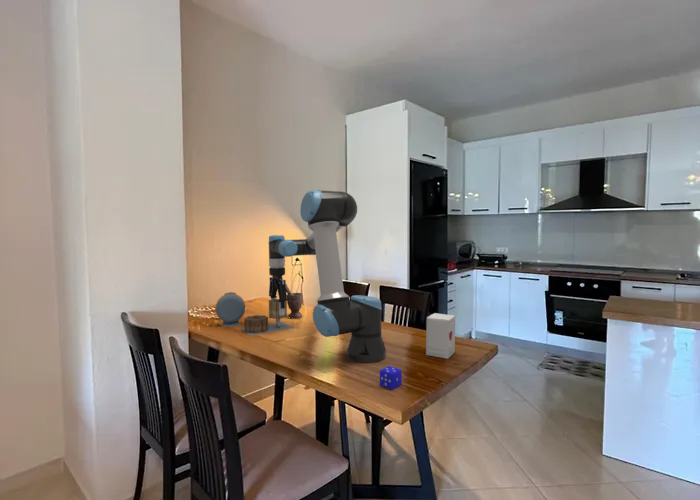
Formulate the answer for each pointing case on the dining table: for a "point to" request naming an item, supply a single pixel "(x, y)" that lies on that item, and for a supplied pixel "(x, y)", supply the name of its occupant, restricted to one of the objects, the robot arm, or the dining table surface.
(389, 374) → the die
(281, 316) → the maple gear
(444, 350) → the supplement box
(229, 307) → the alarm clock
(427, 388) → the dining table surface
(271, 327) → the gear board
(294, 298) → the mortar and pestle
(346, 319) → the robot arm
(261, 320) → the walnut gear
